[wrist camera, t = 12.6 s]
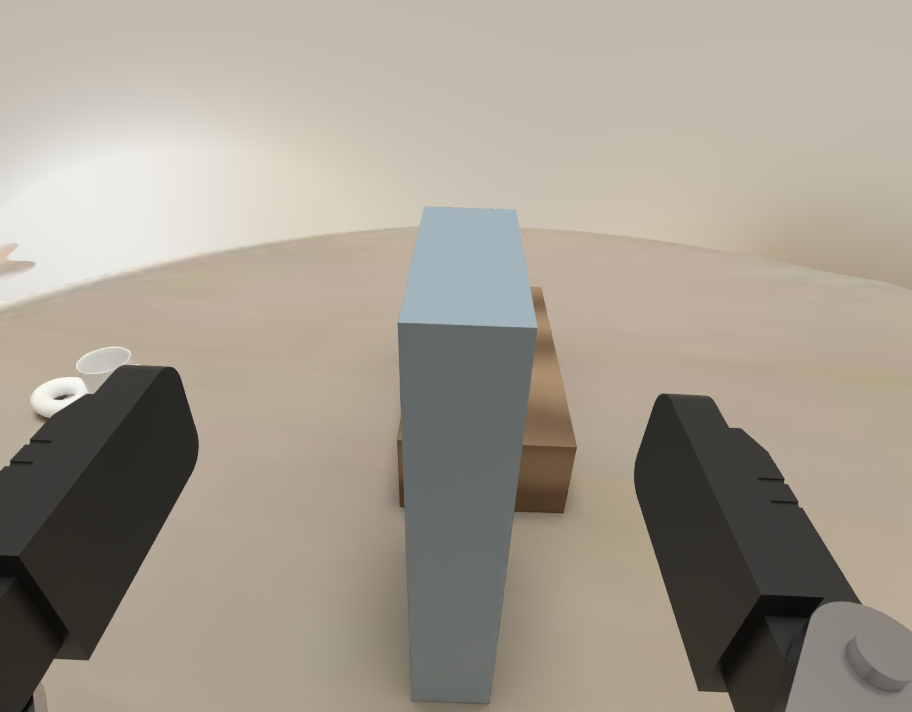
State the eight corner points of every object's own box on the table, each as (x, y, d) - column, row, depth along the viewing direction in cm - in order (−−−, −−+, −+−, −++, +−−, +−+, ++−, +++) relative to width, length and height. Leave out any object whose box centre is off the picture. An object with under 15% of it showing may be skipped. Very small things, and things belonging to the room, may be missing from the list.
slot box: (563, 512, 31) (576, 447, 28) (399, 506, 31) (397, 440, 28) (534, 341, 46) (541, 287, 43) (423, 337, 46) (423, 282, 43)
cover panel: (489, 703, 23) (537, 327, 13) (411, 700, 23) (397, 322, 13) (486, 541, 29) (515, 209, 19) (425, 538, 29) (424, 206, 19)
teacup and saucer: (17, 423, 36) (-10, 373, 34) (122, 362, 43) (104, 316, 40) (112, 464, 34) (89, 413, 31) (209, 392, 40) (196, 345, 37)
